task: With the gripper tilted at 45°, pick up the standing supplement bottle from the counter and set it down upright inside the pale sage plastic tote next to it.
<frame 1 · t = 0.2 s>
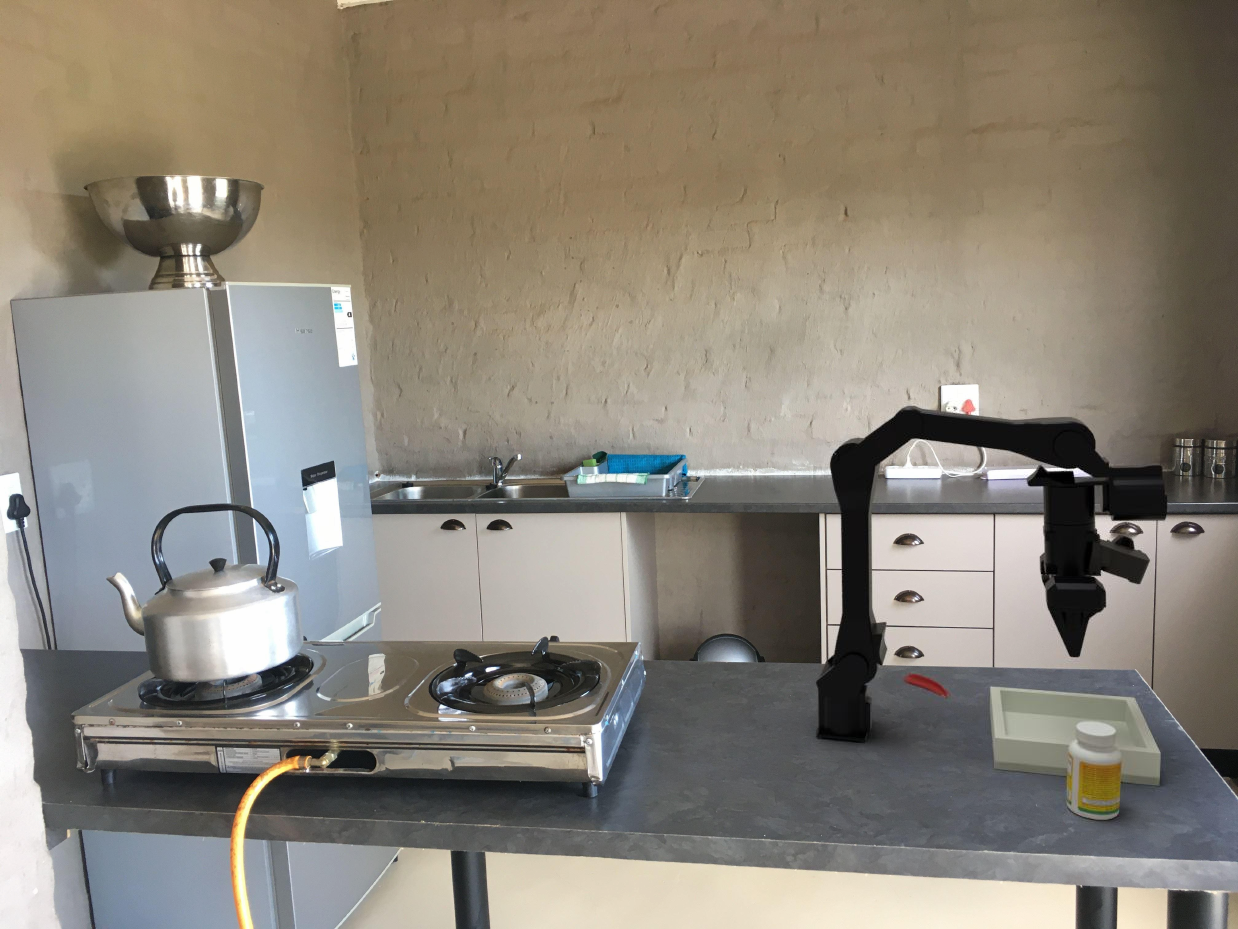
hand: (1071, 645, 121), 14 cm above the countertop, tool pointing down, fingers open, 9 cm apart
supplement bottle: (1092, 811, 110), on the countertop
tote: (1067, 746, 126), on the countertop
cayenne pepper: (925, 690, 149), on the countertop
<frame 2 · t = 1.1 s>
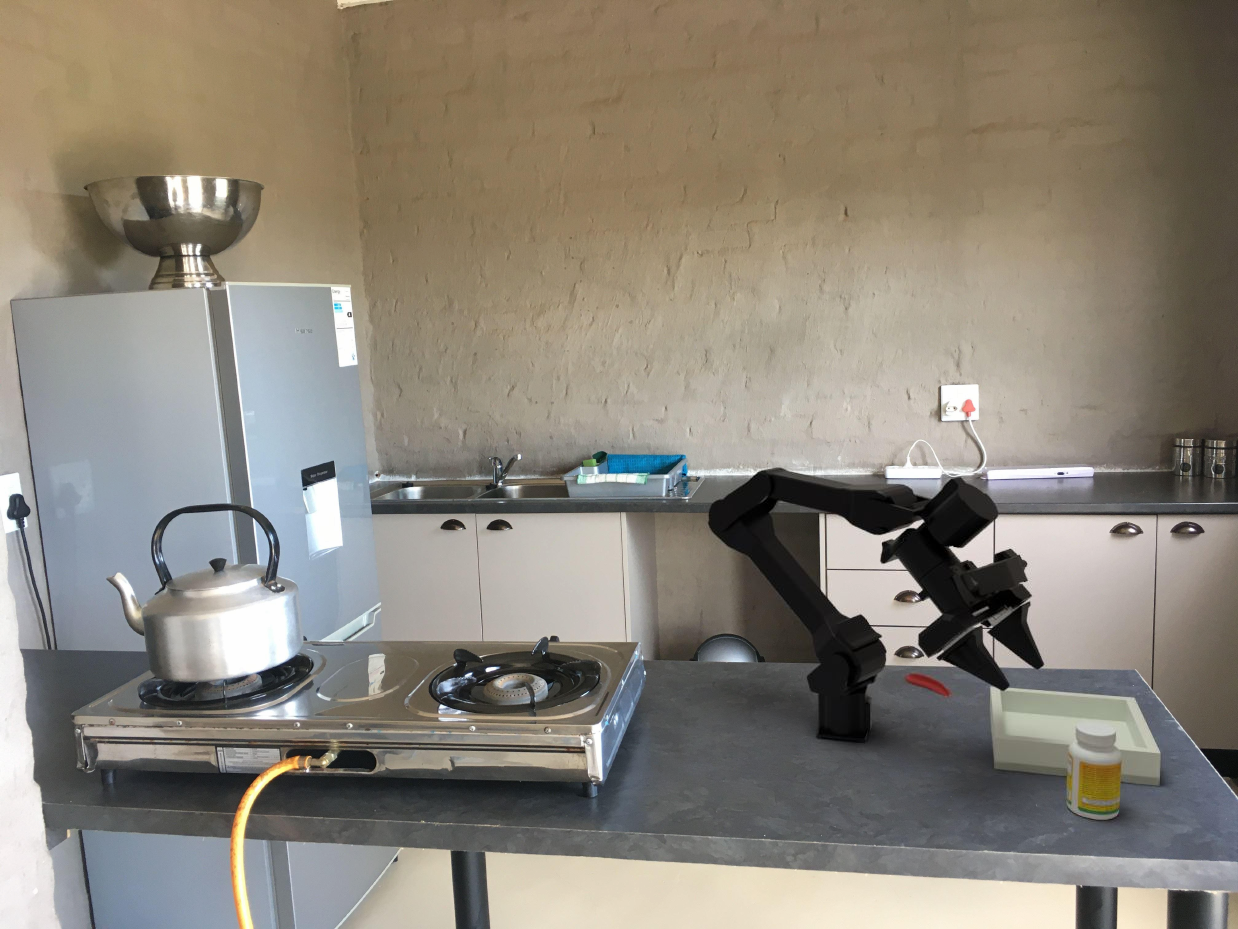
hand: (1024, 678, 114), 13 cm above the countertop, tool tilted 45°, fingers open, 9 cm apart
nothing on the countertop moved.
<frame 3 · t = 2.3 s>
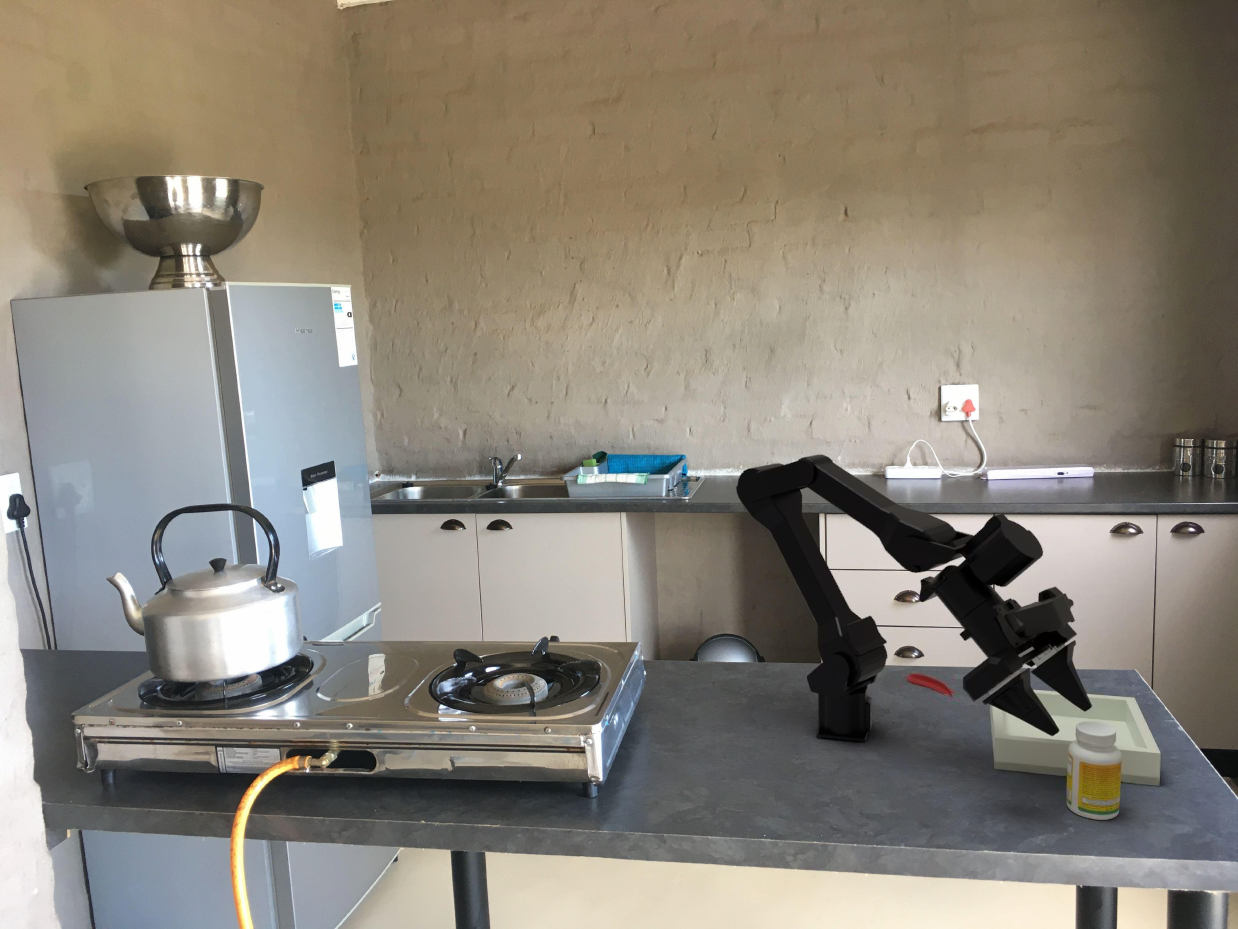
hand: (1072, 721, 110), 10 cm above the countertop, tool tilted 45°, fingers open, 9 cm apart
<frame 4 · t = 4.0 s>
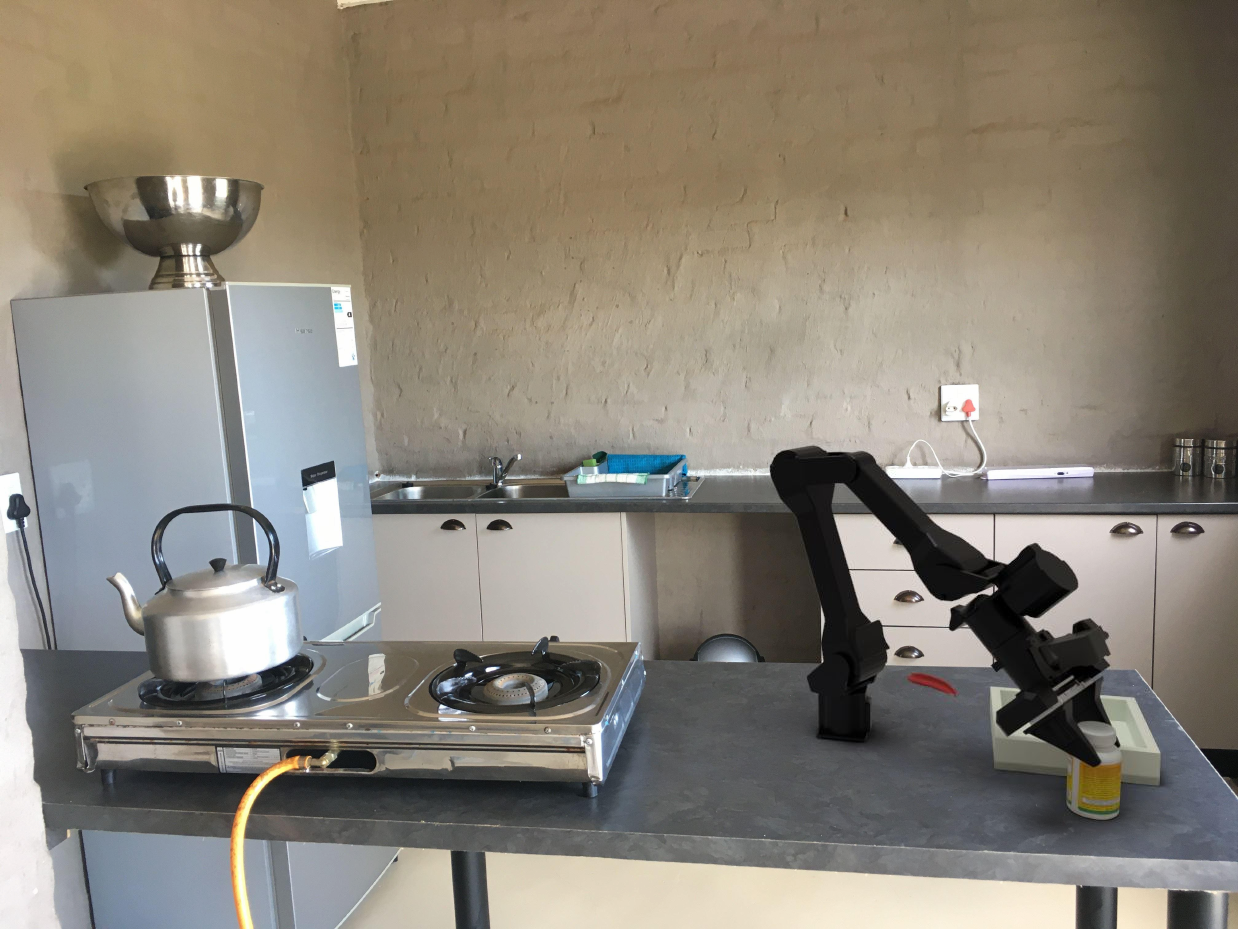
hand: (1107, 757, 108), 7 cm above the countertop, tool tilted 45°, fingers closed on supplement bottle, 5 cm apart
supplement bottle: (1092, 811, 110), on the countertop, touching gripper
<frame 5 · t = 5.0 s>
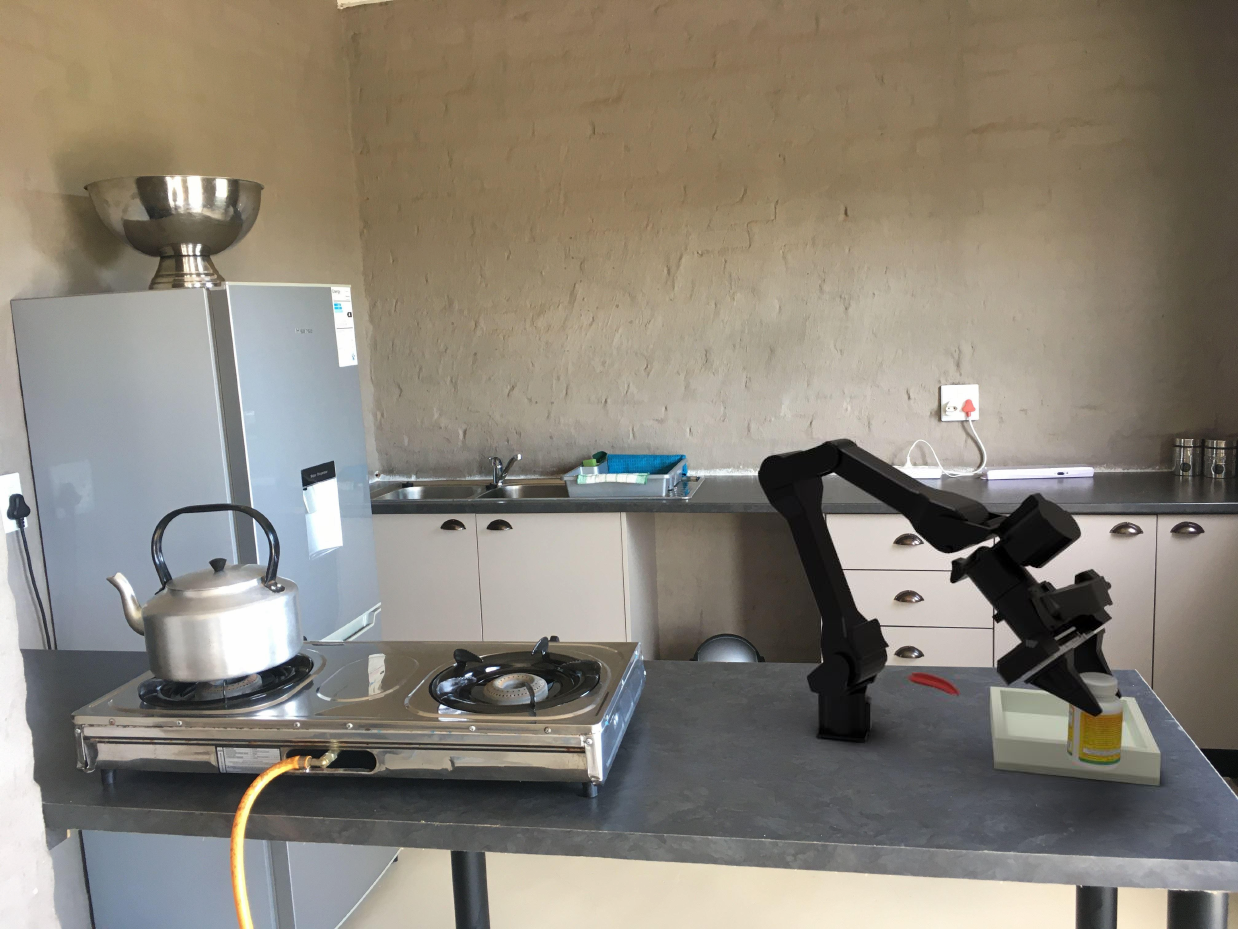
hand: (1108, 707, 107), 12 cm above the countertop, tool tilted 45°, fingers closed on supplement bottle, 5 cm apart
supplement bottle: (1093, 762, 109), point 5 cm above the countertop, touching gripper
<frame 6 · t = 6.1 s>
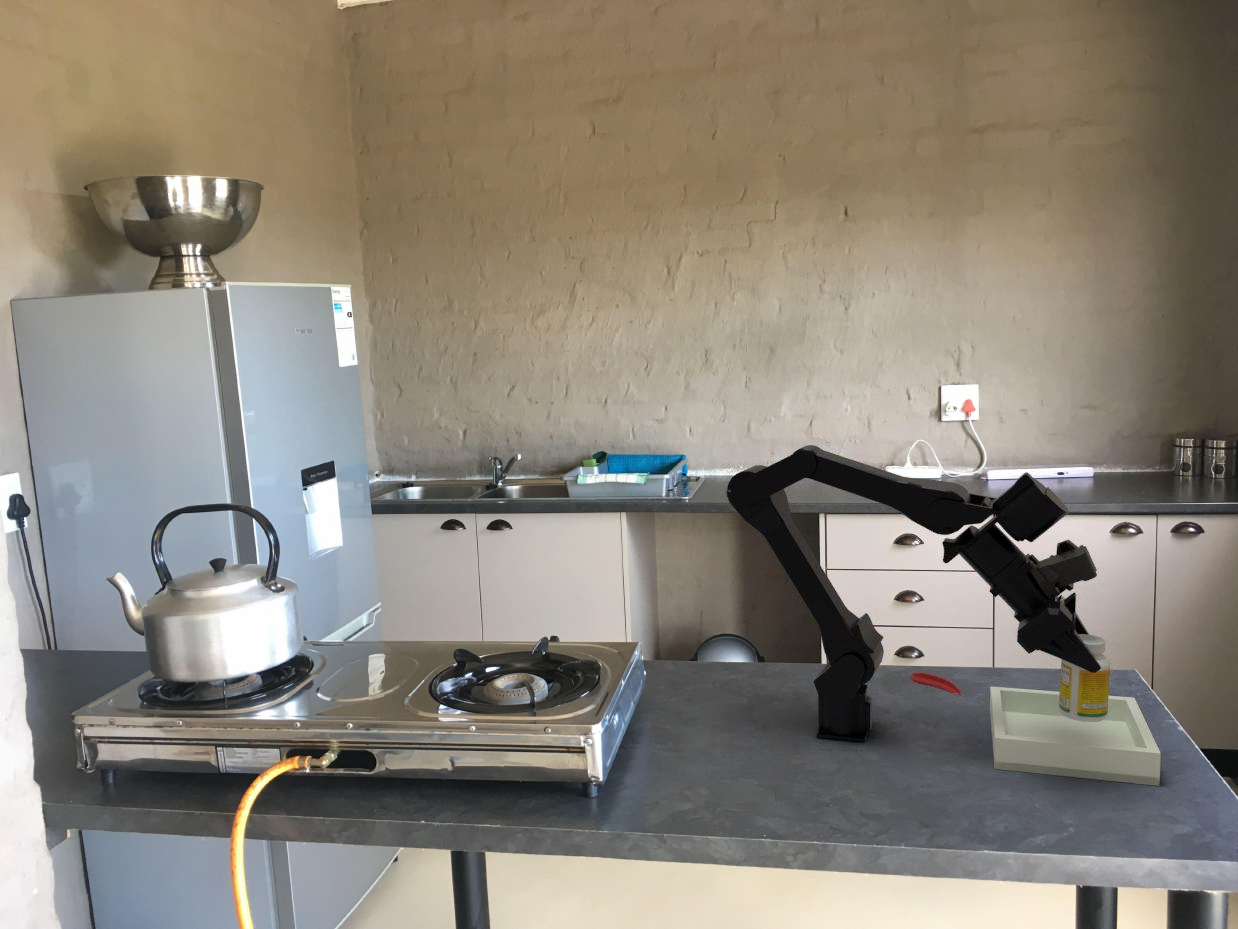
hand: (1097, 663, 118), 13 cm above the countertop, tool tilted 45°, fingers closed on supplement bottle, 5 cm apart
supplement bottle: (1082, 716, 120), point 6 cm above the countertop, touching gripper
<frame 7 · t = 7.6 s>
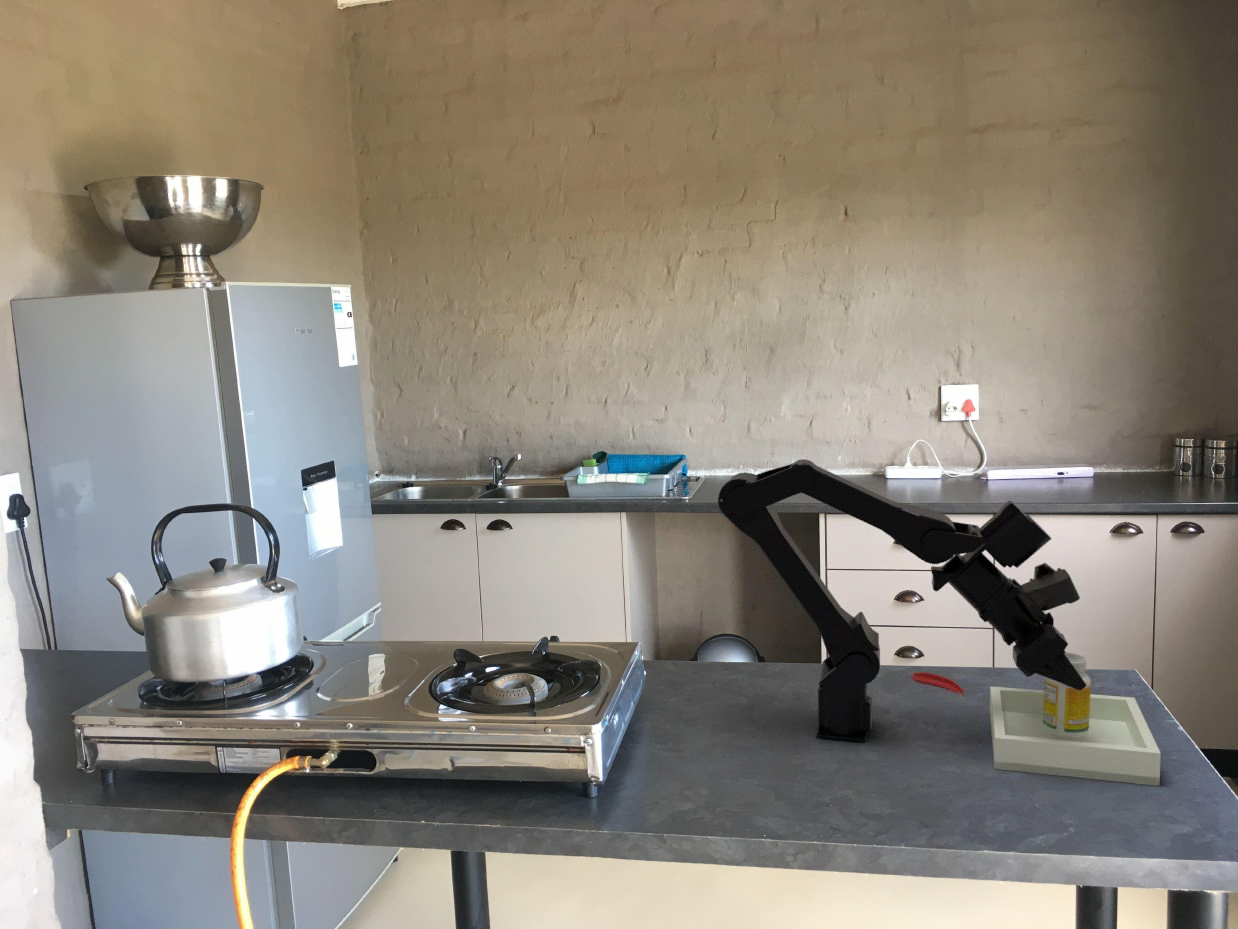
hand: (1078, 680, 124), 9 cm above the countertop, tool tilted 45°, fingers closed on supplement bottle, 5 cm apart
supplement bottle: (1065, 731, 126), point 2 cm above the countertop, touching gripper
when the fingers open (9 cm above the countertop, at t = 8.0 s): supplement bottle drops 1 cm, resting on tote.
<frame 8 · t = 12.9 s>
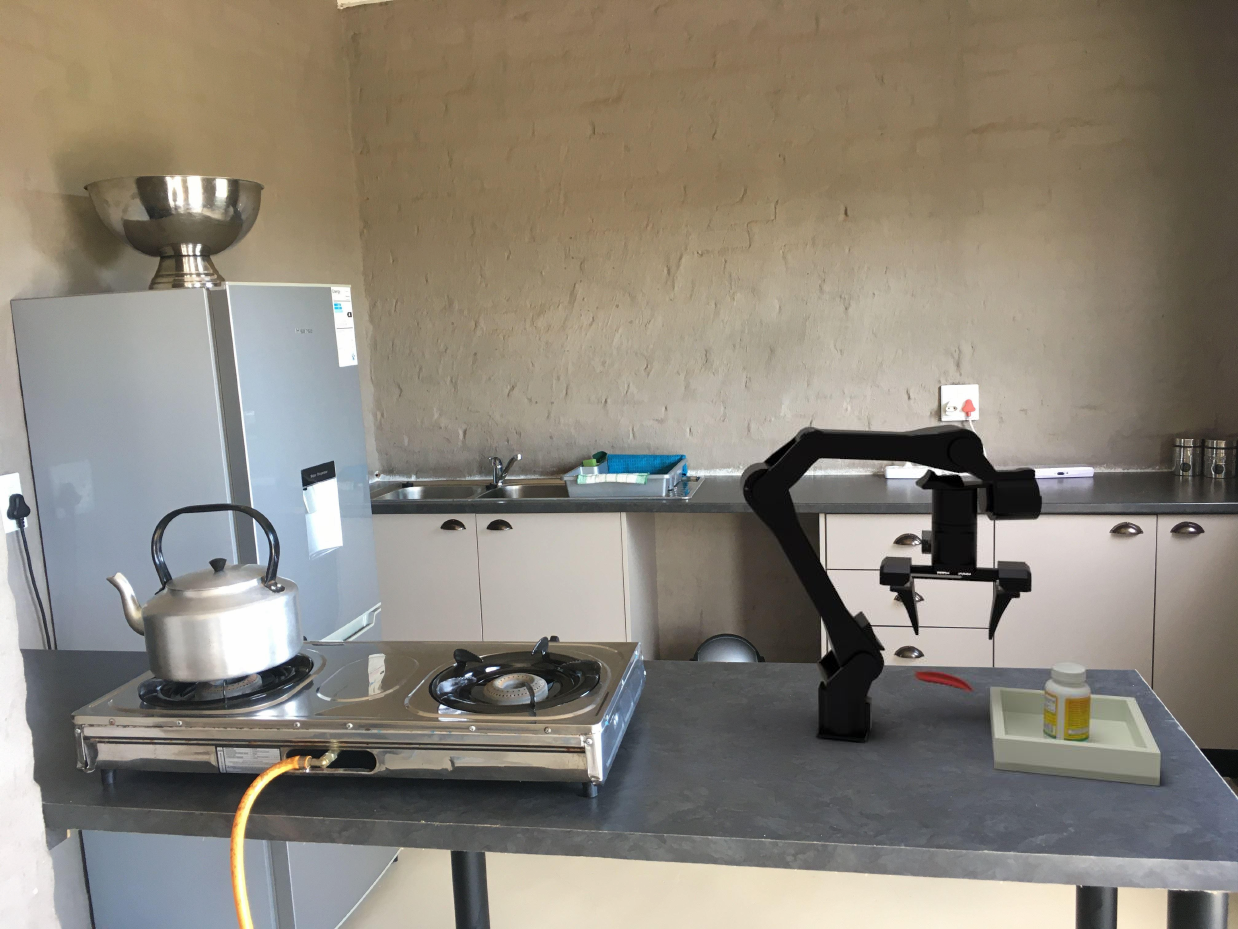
hand: (953, 636, 131), 13 cm above the countertop, tool pointing down, fingers open, 9 cm apart
supplement bottle: (1066, 740, 126), point 1 cm above the countertop, touching tote
cayenne pepper: (941, 686, 150), on the countertop
at the end: supplement bottle inside the target area on the tote (0.1 cm from its centre), point 0.8 cm above the tote's base; supplement bottle tilted 0°; the gripper is holding nothing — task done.
